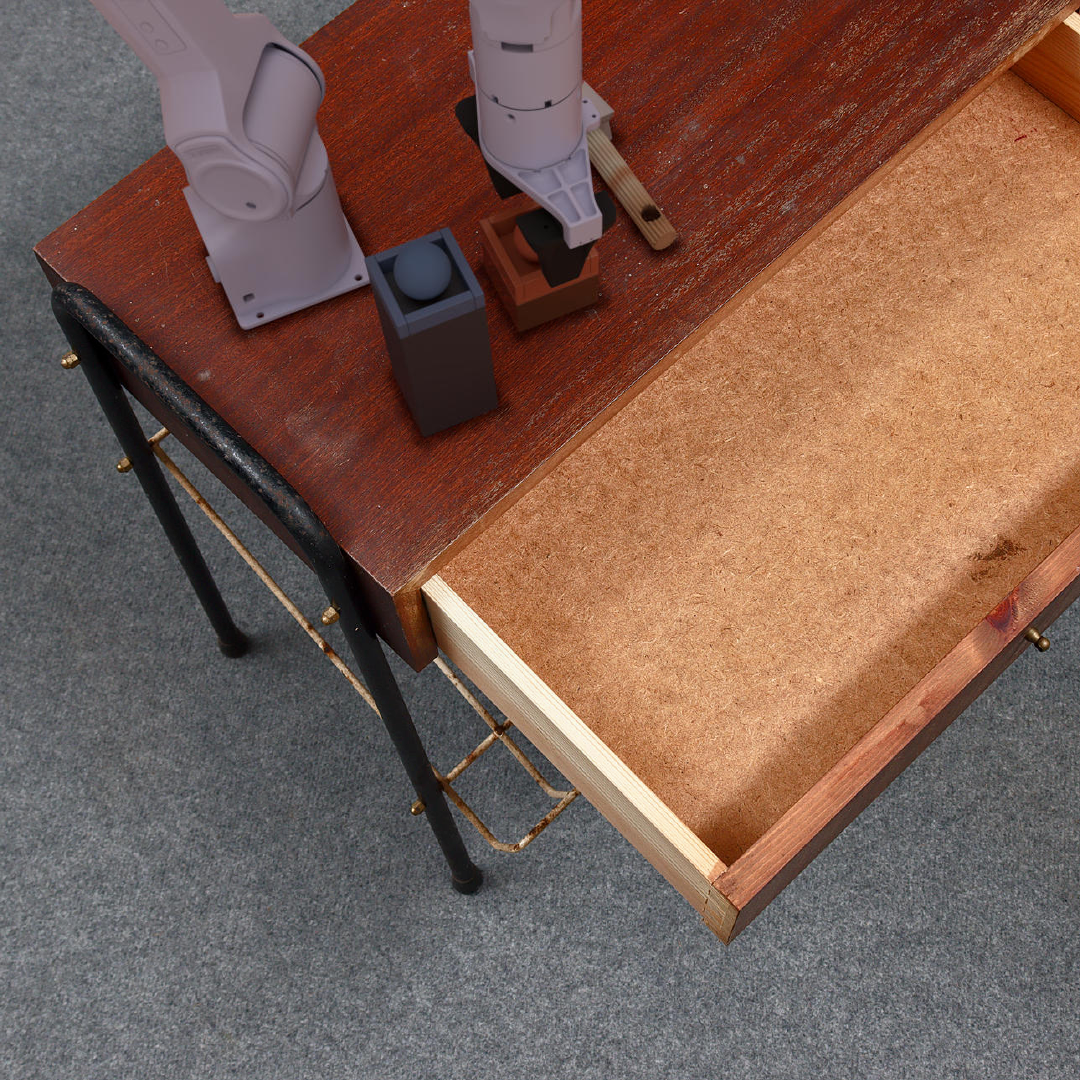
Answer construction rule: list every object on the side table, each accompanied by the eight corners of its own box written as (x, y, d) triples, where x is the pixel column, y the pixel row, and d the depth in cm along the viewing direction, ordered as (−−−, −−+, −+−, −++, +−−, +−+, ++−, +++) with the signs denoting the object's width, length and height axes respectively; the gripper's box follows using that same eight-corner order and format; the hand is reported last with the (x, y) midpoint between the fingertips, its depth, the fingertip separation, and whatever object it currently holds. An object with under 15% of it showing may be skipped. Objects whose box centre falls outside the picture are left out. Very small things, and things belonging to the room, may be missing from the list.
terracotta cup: (519, 333, 84) (515, 287, 79) (484, 268, 86) (478, 220, 81) (598, 301, 84) (599, 254, 80) (562, 238, 87) (560, 189, 82)
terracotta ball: (527, 279, 81) (524, 248, 78) (507, 243, 82) (503, 211, 80) (572, 261, 82) (571, 229, 79) (552, 225, 83) (550, 193, 80)
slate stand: (423, 438, 80) (397, 327, 69) (393, 375, 82) (363, 258, 71) (498, 408, 81) (484, 293, 70) (467, 346, 83) (448, 225, 72)
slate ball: (410, 319, 71) (402, 285, 68) (389, 277, 72) (381, 241, 69) (462, 299, 71) (457, 264, 69) (441, 258, 73) (435, 221, 70)
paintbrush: (547, 18, 91) (690, 218, 84) (547, 46, 94) (686, 243, 87) (500, 37, 91) (640, 240, 84) (501, 66, 93) (637, 265, 86)
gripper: (655, 139, 66) (645, 296, 78) (541, -39, 72) (548, 134, 84) (531, 185, 65) (541, 337, 77) (425, 1, 70) (450, 170, 83)
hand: (538, 234), depth 80 cm, fingers open, 7 cm apart
